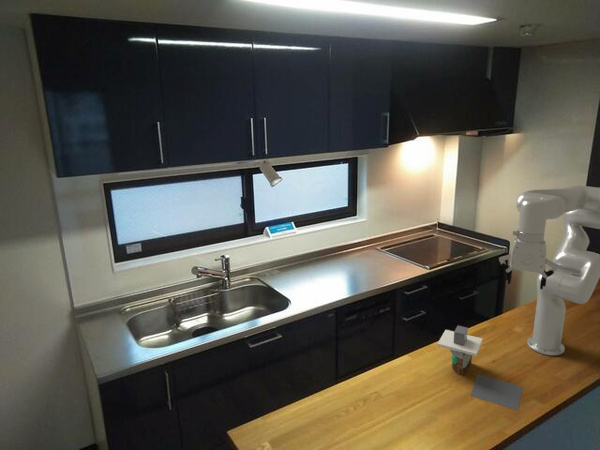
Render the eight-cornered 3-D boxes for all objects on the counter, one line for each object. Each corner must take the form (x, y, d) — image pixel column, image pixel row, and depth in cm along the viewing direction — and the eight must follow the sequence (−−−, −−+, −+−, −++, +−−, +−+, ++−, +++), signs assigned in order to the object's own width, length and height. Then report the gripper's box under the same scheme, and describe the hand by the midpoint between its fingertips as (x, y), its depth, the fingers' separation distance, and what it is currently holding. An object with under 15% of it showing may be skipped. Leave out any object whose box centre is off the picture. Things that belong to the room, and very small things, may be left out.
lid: (445, 331, 159) (446, 318, 157) (482, 340, 152) (483, 327, 150) (437, 346, 150) (438, 332, 148) (476, 356, 143) (477, 341, 142)
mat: (477, 375, 149) (477, 374, 149) (522, 388, 142) (522, 386, 141) (470, 397, 138) (470, 395, 138) (517, 412, 131) (518, 410, 131)
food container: (455, 357, 160) (457, 333, 157) (472, 362, 156) (474, 338, 154) (443, 373, 151) (445, 348, 148) (460, 379, 147) (462, 354, 145)
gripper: (499, 236, 139) (495, 284, 143) (561, 243, 129) (554, 294, 134) (503, 230, 145) (498, 276, 149) (562, 236, 135) (555, 285, 140)
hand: (525, 285), depth 142 cm, fingers open, 9 cm apart
